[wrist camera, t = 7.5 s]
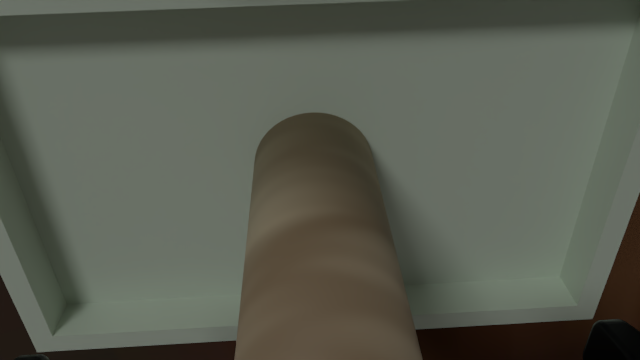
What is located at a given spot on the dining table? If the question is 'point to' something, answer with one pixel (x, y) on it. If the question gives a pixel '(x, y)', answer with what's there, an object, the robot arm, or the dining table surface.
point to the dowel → (320, 251)
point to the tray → (297, 98)
